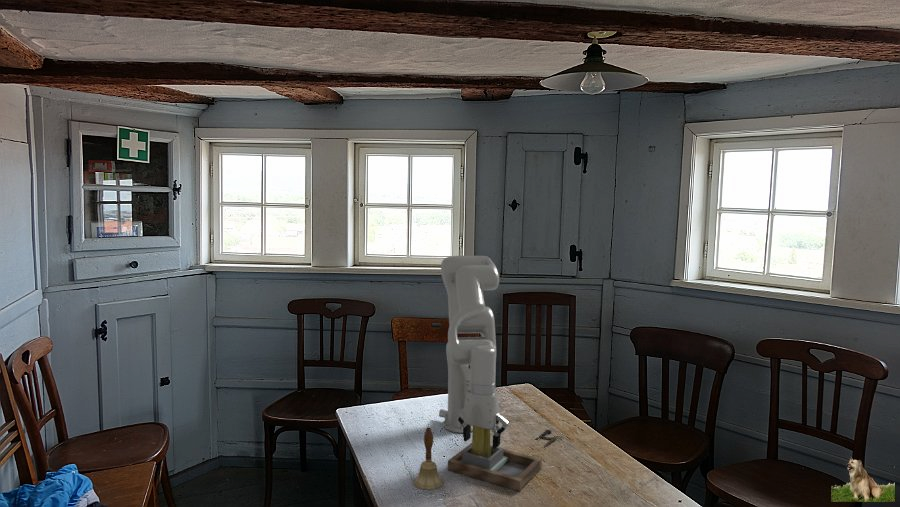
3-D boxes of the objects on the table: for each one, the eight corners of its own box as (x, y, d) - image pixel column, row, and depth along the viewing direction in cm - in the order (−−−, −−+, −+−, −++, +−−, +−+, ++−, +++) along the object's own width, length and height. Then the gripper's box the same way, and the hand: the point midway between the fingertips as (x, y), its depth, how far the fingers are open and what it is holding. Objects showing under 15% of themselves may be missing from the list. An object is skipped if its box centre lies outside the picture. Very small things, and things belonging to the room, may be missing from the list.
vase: (493, 456, 174) (494, 411, 172) (488, 465, 168) (489, 418, 167) (474, 453, 176) (475, 408, 174) (468, 462, 170) (469, 415, 169)
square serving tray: (456, 467, 169) (457, 453, 169) (475, 452, 180) (476, 439, 179) (490, 476, 164) (490, 462, 163) (507, 460, 174) (508, 447, 174)
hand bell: (446, 487, 159) (447, 432, 157) (417, 491, 156) (417, 435, 155) (438, 474, 166) (439, 420, 165) (410, 477, 164) (411, 423, 163)
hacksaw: (546, 432, 199) (547, 427, 199) (574, 439, 193) (574, 435, 193) (511, 456, 180) (512, 451, 179) (541, 465, 174) (541, 461, 173)
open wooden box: (447, 470, 169) (447, 460, 168) (473, 450, 182) (473, 441, 182) (519, 491, 157) (520, 481, 157) (541, 468, 171) (541, 459, 170)
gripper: (450, 386, 171) (449, 441, 173) (503, 396, 162) (502, 455, 164) (463, 379, 177) (462, 432, 179) (514, 389, 169) (513, 445, 170)
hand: (481, 443), depth 171 cm, fingers open, 9 cm apart
